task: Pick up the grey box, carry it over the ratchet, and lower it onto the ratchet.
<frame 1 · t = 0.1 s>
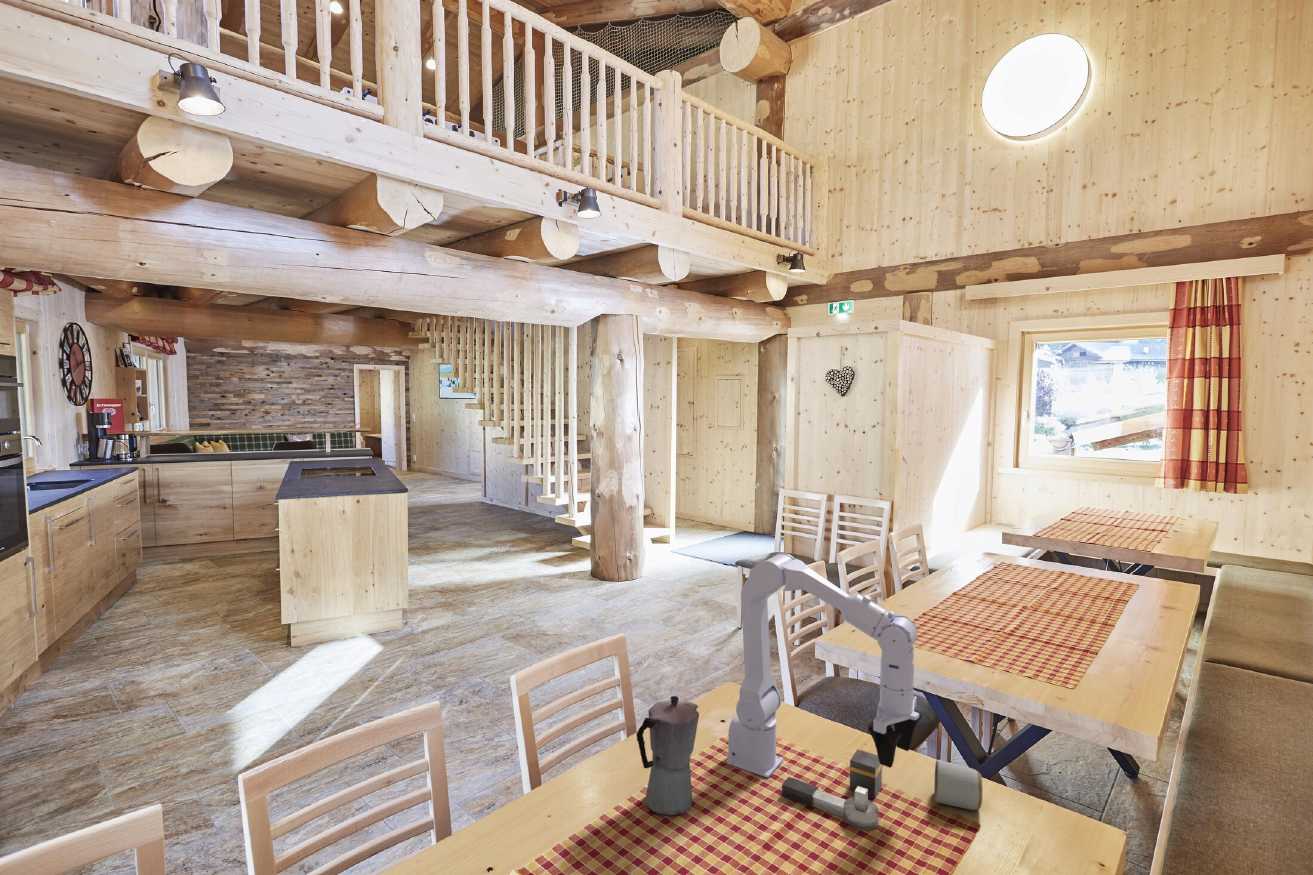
hand: (894, 756, 117), 10 cm above the table, tool pointing down, fingers open, 7 cm apart
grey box: (865, 788, 124), on the table
ratchet: (860, 819, 115), on the table
ceramic mug: (954, 800, 121), on the table
moka pot: (668, 804, 119), on the table
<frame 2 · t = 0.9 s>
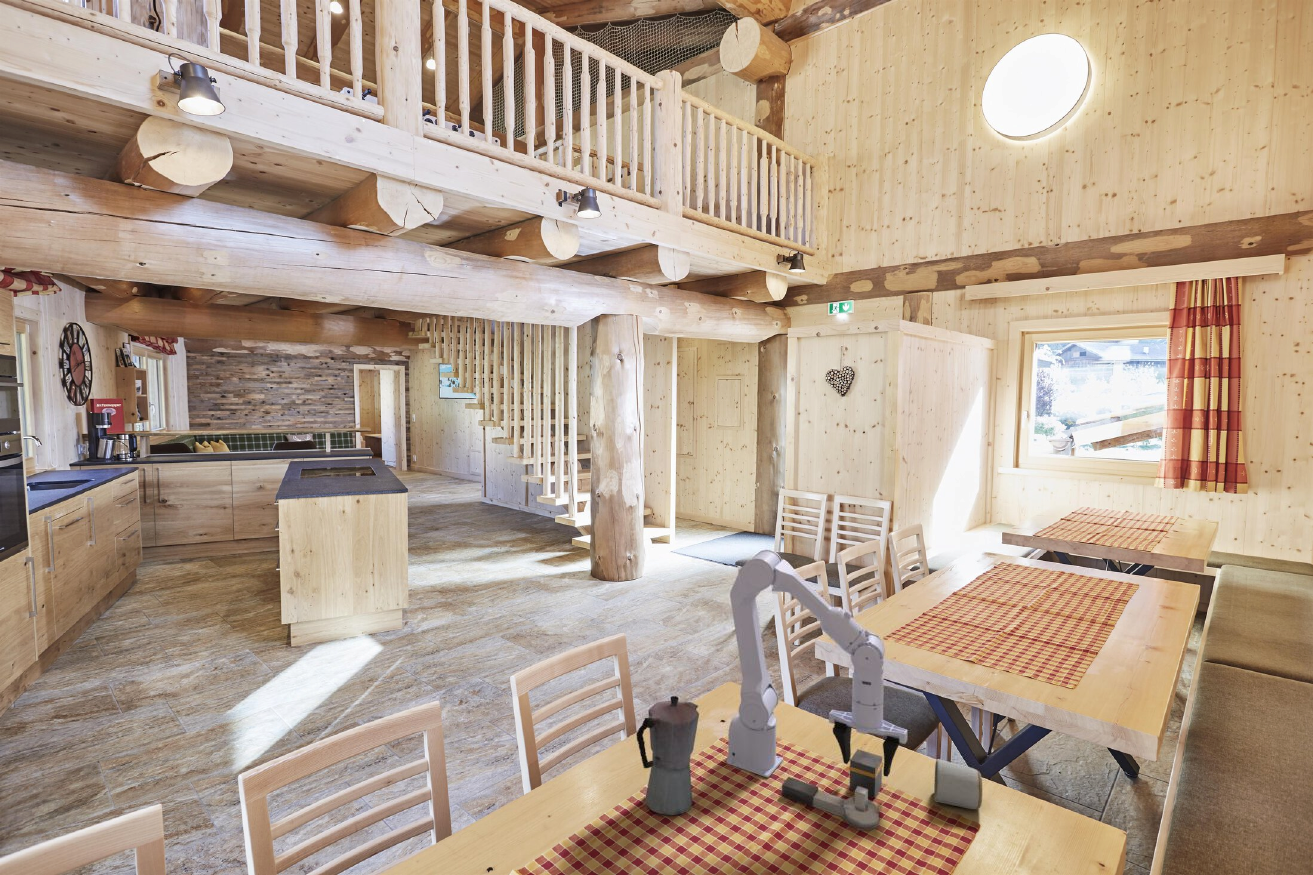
hand: (866, 767, 124), 4 cm above the table, tool pointing down, fingers open, 7 cm apart
nothing on the table moved.
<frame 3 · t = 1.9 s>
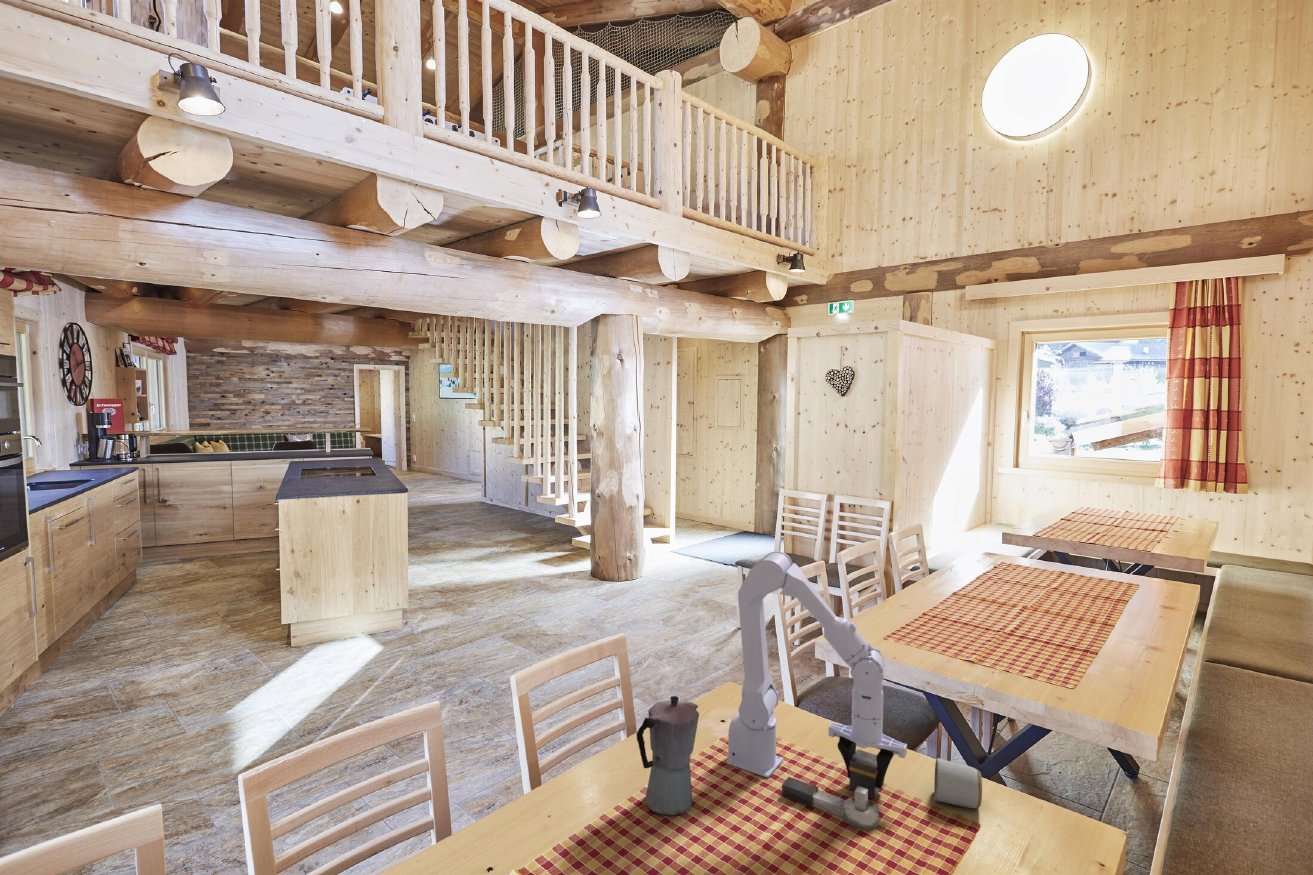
hand: (865, 781, 124), 1 cm above the table, tool pointing down, fingers closed on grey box, 5 cm apart
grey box: (865, 788, 124), on the table, touching gripper
everything else where it was.
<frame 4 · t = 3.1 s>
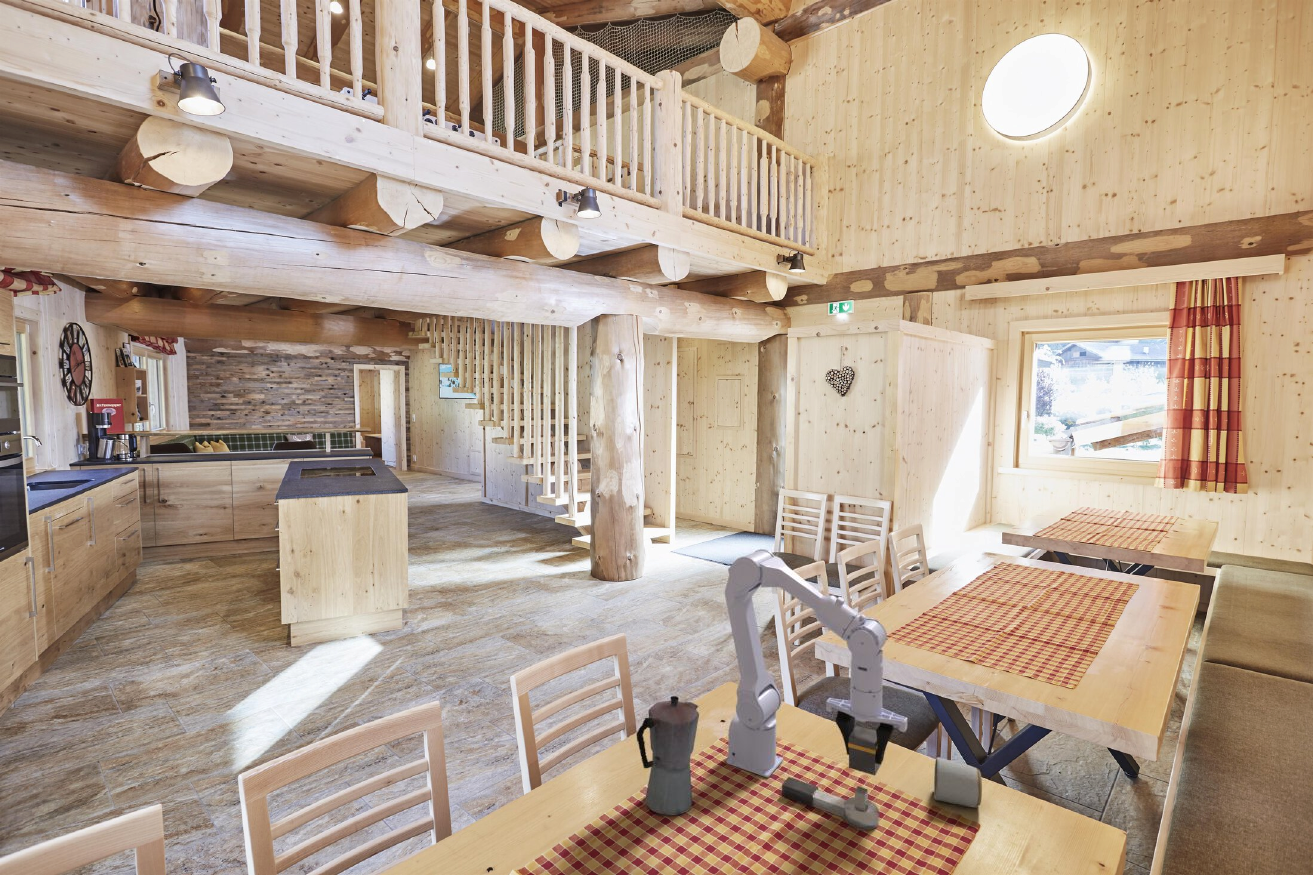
hand: (864, 757, 120), 8 cm above the table, tool pointing down, fingers closed on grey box, 5 cm apart
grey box: (865, 765, 120), point 7 cm above the table, touching gripper
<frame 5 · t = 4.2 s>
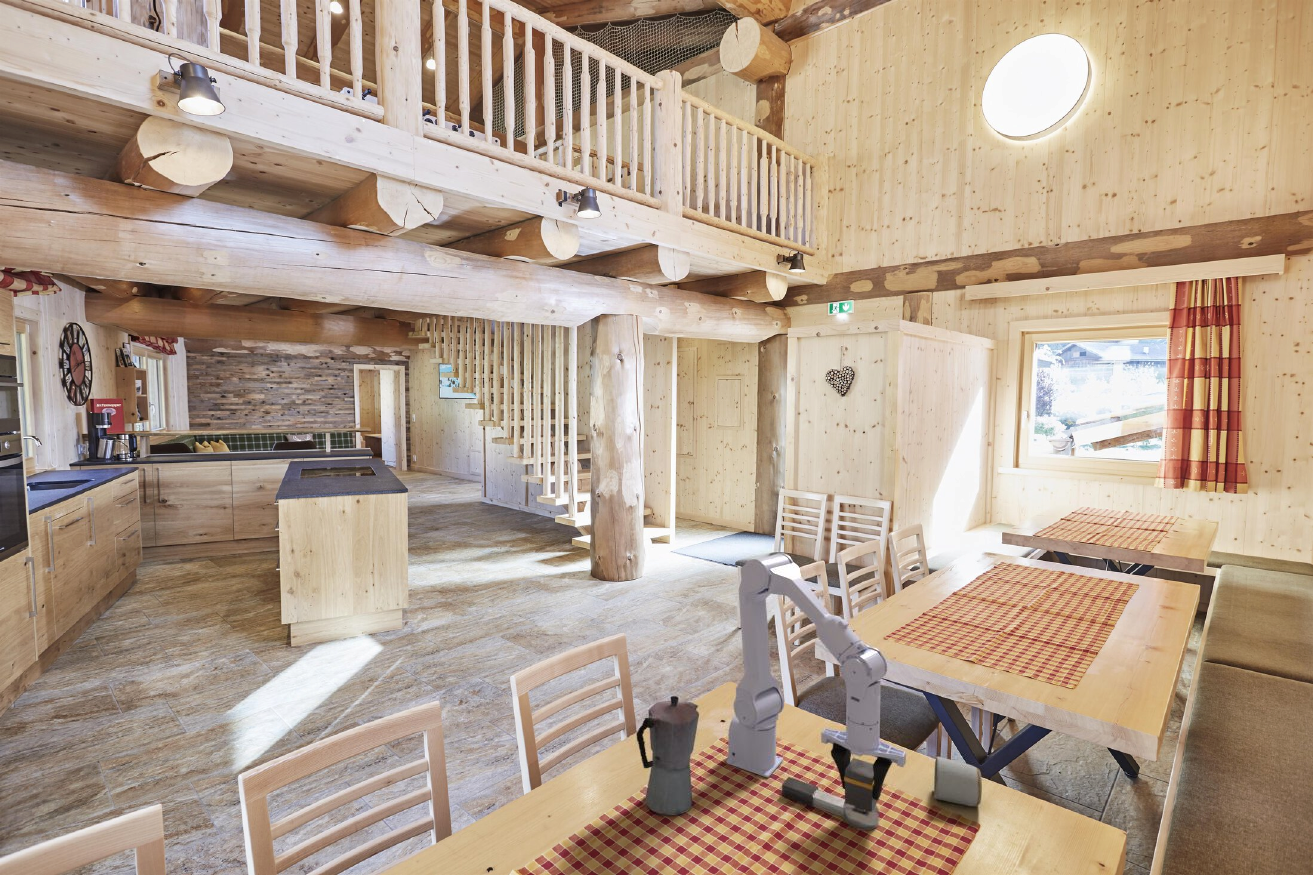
hand: (861, 791, 115), 5 cm above the table, tool pointing down, fingers closed on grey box, 5 cm apart
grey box: (862, 800, 115), point 3 cm above the table, touching gripper
when the fingers open (5 cm above the table, at t = 4.8 s): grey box stays where it is, resting on ratchet.
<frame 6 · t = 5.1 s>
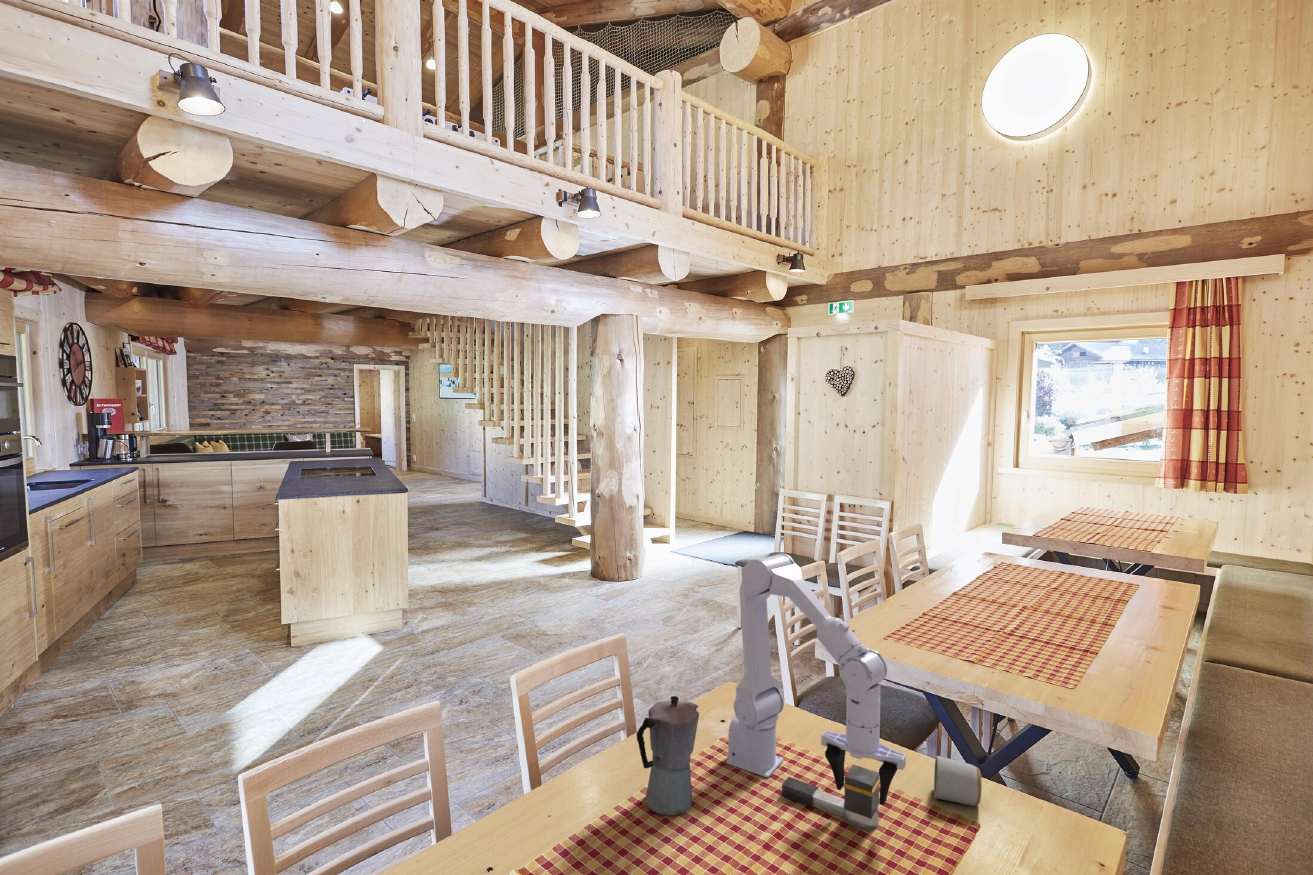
hand: (861, 794, 115), 5 cm above the table, tool pointing down, fingers open, 7 cm apart
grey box: (861, 807, 115), point 2 cm above the table, touching ratchet
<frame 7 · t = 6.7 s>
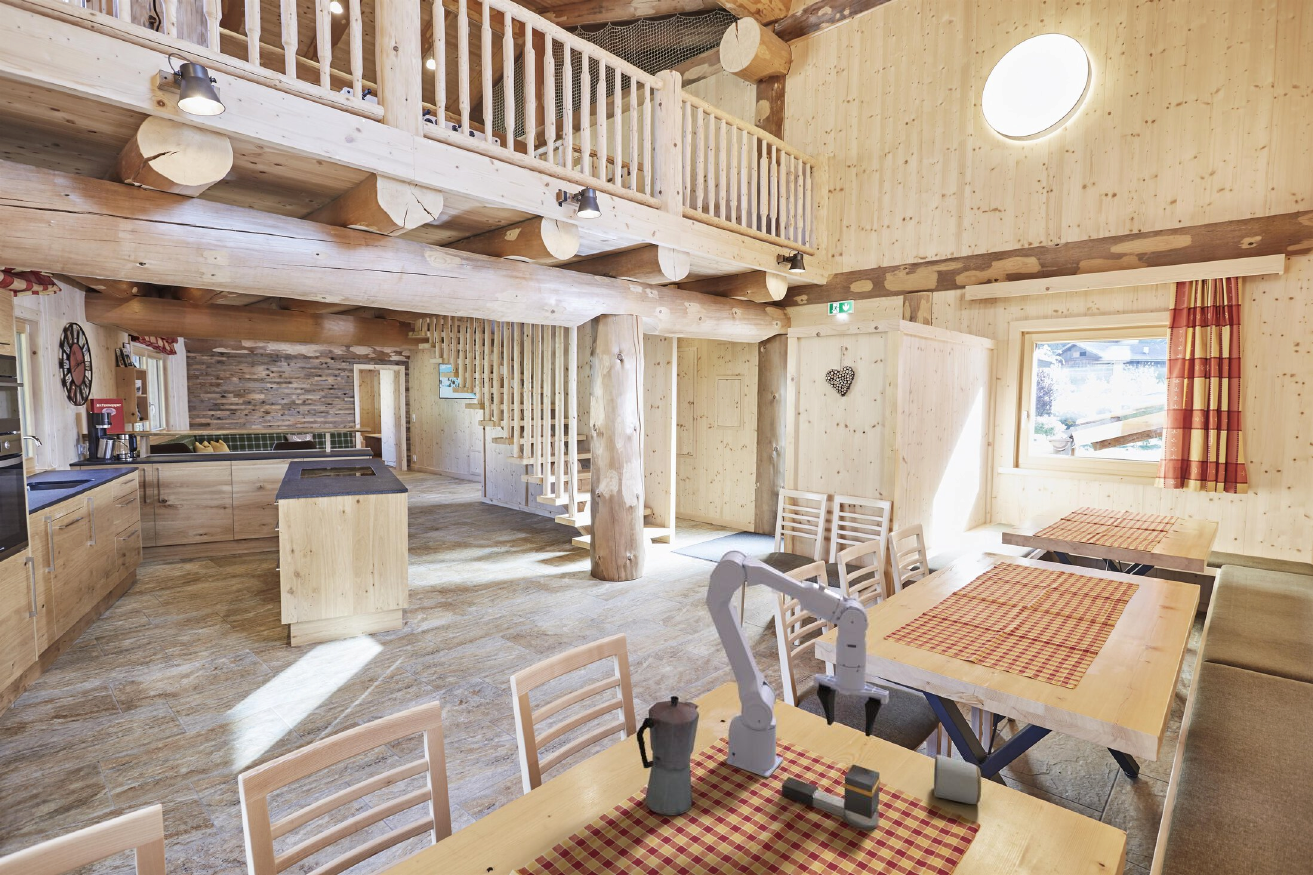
hand: (849, 728, 128), 10 cm above the table, tool pointing down, fingers open, 7 cm apart
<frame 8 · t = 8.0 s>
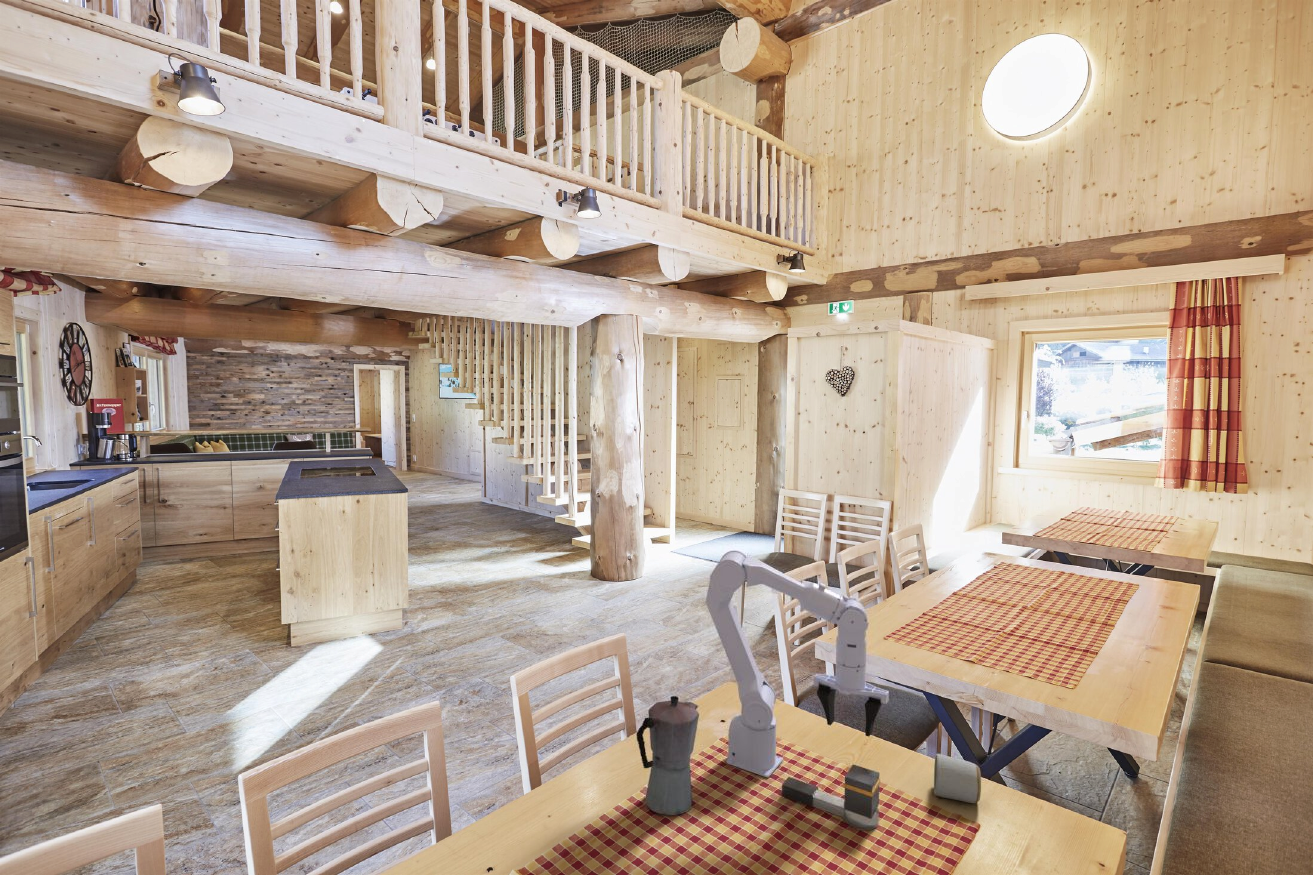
hand: (849, 728, 128), 10 cm above the table, tool pointing down, fingers open, 7 cm apart
at the end: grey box 0.2 cm off-centre on the ratchet, point 2.2 cm above the ratchet's base; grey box tilted 0°; the gripper is holding nothing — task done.
